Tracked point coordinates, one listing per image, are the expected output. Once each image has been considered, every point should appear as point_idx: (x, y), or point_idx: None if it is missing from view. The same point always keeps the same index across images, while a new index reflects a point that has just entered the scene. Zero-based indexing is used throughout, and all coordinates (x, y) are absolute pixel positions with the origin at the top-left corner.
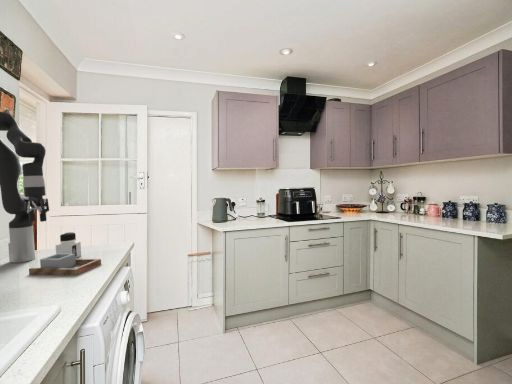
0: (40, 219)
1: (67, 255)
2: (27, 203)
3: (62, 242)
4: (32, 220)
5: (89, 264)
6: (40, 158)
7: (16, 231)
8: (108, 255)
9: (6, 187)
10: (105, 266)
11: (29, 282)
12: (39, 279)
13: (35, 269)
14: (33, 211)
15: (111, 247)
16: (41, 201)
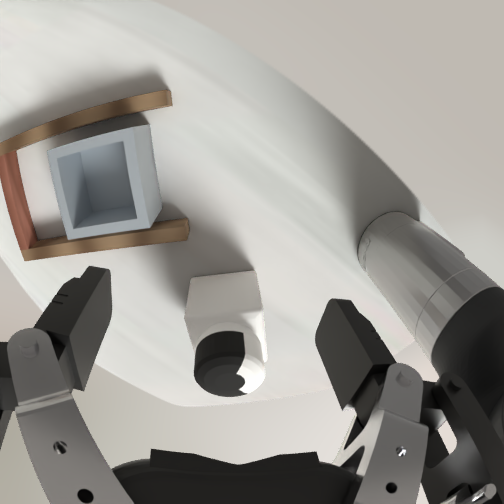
0: (91, 278)
1: (93, 223)
2: (471, 488)
3: (227, 326)
4: (326, 320)
5: (8, 205)
6: None
7: (461, 284)
8: (105, 336)
9: None
10: (6, 235)
11: (87, 42)
12: (79, 71)
13: (134, 96)
14: (358, 420)
15: (193, 402)
16: None
